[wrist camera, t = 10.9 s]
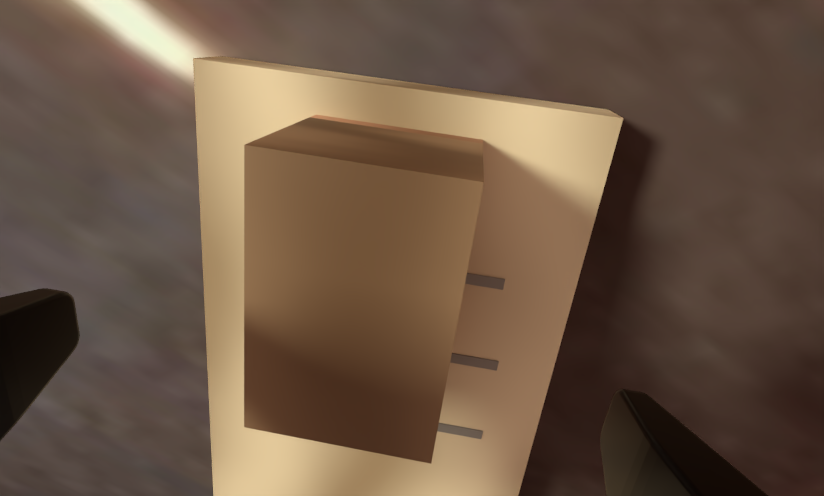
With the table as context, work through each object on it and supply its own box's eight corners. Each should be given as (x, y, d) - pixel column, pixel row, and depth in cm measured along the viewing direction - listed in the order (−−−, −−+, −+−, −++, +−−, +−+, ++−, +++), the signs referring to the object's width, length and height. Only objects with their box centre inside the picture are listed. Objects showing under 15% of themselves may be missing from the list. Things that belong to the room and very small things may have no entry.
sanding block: (304, 329, 14) (244, 427, 11) (315, 114, 12) (244, 144, 8) (444, 354, 14) (430, 464, 10) (482, 139, 12) (484, 182, 8)
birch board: (234, 531, 20) (216, 568, 19) (222, 56, 13) (192, 58, 12) (482, 582, 20) (482, 624, 18) (608, 109, 13) (623, 118, 11)
